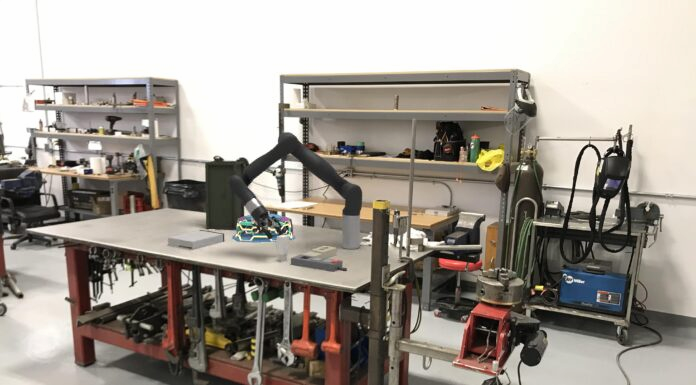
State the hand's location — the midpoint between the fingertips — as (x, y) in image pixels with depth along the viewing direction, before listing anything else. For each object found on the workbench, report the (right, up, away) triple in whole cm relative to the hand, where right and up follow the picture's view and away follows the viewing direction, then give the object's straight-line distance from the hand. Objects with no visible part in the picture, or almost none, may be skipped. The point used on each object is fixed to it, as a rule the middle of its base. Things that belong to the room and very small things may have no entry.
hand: (276, 236), depth 229 cm
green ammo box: (-42, -1, +76) cm, 87 cm away
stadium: (-14, -5, +48) cm, 50 cm away
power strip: (+21, -13, -9) cm, 26 cm away
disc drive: (-46, -7, +30) cm, 56 cm away
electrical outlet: (+19, -11, +7) cm, 23 cm away
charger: (+3, -11, 0) cm, 11 cm away
